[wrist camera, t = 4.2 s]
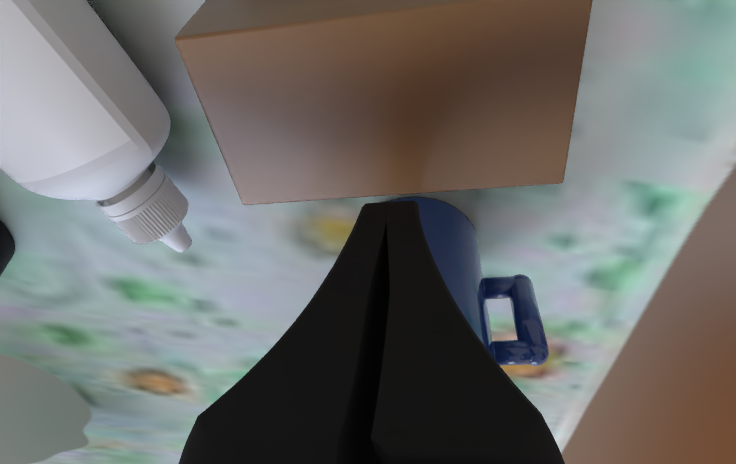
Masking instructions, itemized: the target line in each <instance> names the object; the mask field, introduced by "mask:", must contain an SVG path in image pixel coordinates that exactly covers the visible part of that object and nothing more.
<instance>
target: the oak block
mask: <svg viewBox="0 0 736 464" xmlns="http://www.w3.org/2000/svg"><path fill="white" fill-rule="evenodd" d="M591 6H592V0H206V1H205V2H204V3H203V5H202V6H201V7H200V8H199V9H198V11H197V12H196V13H195V14H194V15H193V16H192V18H191V19H190V20H189V21H188V22H187V24H186V25H185V26H184V27H183V28H182V30H181V31H180V32H179V33H178V34H177V36H176V37H175V43H176V45H177V48H178V50H179V53H180V55H181V57H182V60H183V62H184V65H185V67H186V69H187V72H188V74H189V77H190V79H191V81H192V84H193V86H194V89H195V91H196V93H197V96H198V98H199V100H200V103H201V105H202V108H203V110H204V112H205V115H206V117H207V120H208V122H209V124H210V127H211V129H212V132H213V134H214V136H215V139H216V141H217V144H218V146H219V148H220V151H221V153H222V156H223V158H224V160H225V163H226V165H227V167H228V170H229V172H230V175H231V177H232V179H233V182H234V184H235V187H236V189H237V191H238V194H239V196H240V199H241V201H242V203H243V204H244V205H252V204H267V203H281V202H296V201H311V200H325V199H340V198H354V197H369V196H384V195H398V194H413V193H427V192H442V191H457V190H471V189H486V188H500V187H515V186H530V185H544V184H559V183H562V182H563V180H564V174H565V168H566V162H567V156H568V149H569V143H570V137H571V131H572V125H573V118H574V112H575V106H576V100H577V93H578V87H579V81H580V75H581V68H582V62H583V56H584V50H585V44H586V37H587V31H588V25H589V19H590V12H591Z"/></svg>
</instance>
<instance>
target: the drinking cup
mask: <svg viewBox="0 0 736 464" xmlns="http://www.w3.org/2000/svg"><path fill="white" fill-rule="evenodd" d="M14 250H15V246H14V241H13V239H12V236H11V235H10V233H9V231H8V230H7V229H6V227H5V226H4V225H3V224H2V223H1V222H0V275H1V274H2V272H3V271H4V269H5V268H6V266H7V264H8V263H9V261H10V260H11V258H12V256H13V254H14Z"/></svg>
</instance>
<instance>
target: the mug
mask: <svg viewBox="0 0 736 464" xmlns="http://www.w3.org/2000/svg"><path fill="white" fill-rule="evenodd" d="M413 200H414V201H415V202H416V203H418V206H419V216H420V221H421V225H422V229H423V232H424V235H425V238H426V241H427V244H428V246H429V249H430V251H431V254H432V256H433V258H434V261H435V263H436V265H437V268H438V270H439V272H440V274H441V276H442V278H443V280H444V282H445V284H446V286H447V288H448V290H449V291H450V293H451V295H452V297H453V299H454V300H455V302H456V304H457V305H458V307H459V309H460V310H461V312H462V314H463V315H464V317H465V318H466V320H467V321H468V323H469V324H470V326H471V328H472V329H473V331H474V332H475V334H476V335H477V336H478V338H479V339H480V340H481V342H482V343H483V344H484V346H485V347H486V348H487V350H488V351H489V353H490V354H491V355H492V357H493V358H494V359H495V361H496V362H497V363H498V365H499V366H501V365H533V366H539V365H542V364H543V363H545V362H546V360H547V359H548V356H549V349H548V345H547V341H546V337H545V333H544V329H543V325H542V321H541V317H540V313H539V309H538V305H537V301H536V297H535V292H534V288H533V284H532V282H531V280H530V279H529V278H528V277H527V276H525V275H521V274H519V275H515V276H507V277H490V278H483V275H482V268H481V262H480V255H479V249H478V242H477V236H476V232H475V229H474V227H473V225H472V223H471V222H470V221H469V219H468V218H467V217H466V216H465V215H464V214H463V213H462V212H461V211H459V210H458V209H457V208H455V207H453V206H451V205H449V204H447V203H444V202H442V201H438V200H435V199H430V198H421V197H408V198H400V199H396V200H392V201H389V202H398V201H413ZM501 298H510V303H511V308H512V313H513V318H514V323H515V328H516V333H517V339H518V340H505V341H493V340H492V334H491V327H490V321H489V314H488V308H487V301H486V299H501Z"/></svg>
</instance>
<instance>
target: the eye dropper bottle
mask: <svg viewBox="0 0 736 464" xmlns="http://www.w3.org/2000/svg"><path fill="white" fill-rule="evenodd" d="M170 125H171V121H170V116H169V113H168V111H167V109H166V108H165V106H164V104H163V103H162V101H161V100H160V98H159V97H158V96H157V94H156V93H155V92H154V90H153V89H152V87H151V86H150V85H149V83H148V82H147V80H146V79H145V78H144V76H143V75H142V74H141V72H140V71H139V70H138V68H137V67H136V66H135V64H134V63H133V62H132V60H131V59H130V58H129V56H128V55H127V54H126V52H125V51H124V50H123V48H122V47H121V46H120V44H119V43H118V42H117V40H116V39H115V38H114V36H113V35H112V34H111V32H110V31H109V30H108V28H107V27H106V26H105V25H104V23H103V22H102V21H101V19H100V18H99V17H98V15H97V14H96V13H95V11H94V10H93V9H92V7H91V6H90V5H89V3H88V2H87V1H86V0H0V169H2V170H3V171H4V172H5V173H6V174H7V175H9V176H10V177H11V178H12V179H13V180H14V181H16V182H17V183H18V184H20V185H21V186H23V187H24V188H25V189H27V190H29V191H31V192H34V193H37V194H39V195H43V196H47V197H52V198H58V199H68V200H96V201H95V204H96V206H97V207H98V208H100V209H101V210H102V211H103V212H104V213H105V214H106V215H107V216H108V217H109V218H110V219H111V220H112V221H113V222H114V223H115V224H116V225H117V226H118V227H119V228H120V229H121V230H122V231H123V232H124V233H125V234H126V235H127V236H128V237H129V238H130V239H131V240H132V241H133V242H135V243H137V244H148V243H152V242H154V241H157V240H160V241H162V242H164V243H165V244H167V245H168V246H170V247H171V248H172V249H174V250H175V251H177V252H183V251H185V250H187V249H188V248H189V247H190V246H191V244H192V240H191V238H190V236H189V234H188V233H187V231H186V229H185V227H184V226H183V224H182V220H183V219H184V217H185V215H186V213H187V211H188V206H189V203H188V200H187V199H186V198H185V196H184V195H183V194H182V193H181V192H180V191H179V189H178V188H177V187H176V186H175V185H174V183H173V182H172V181H171V180H170V179H169V178H168V176H167V175H166V174H165V173H164V172H163V171H162V169H161V168H160V167H159V166H158V165H157V163H156V162H155V161H153V160H154V159H155V158H156V156H157V155H158V154H159V152H160V151H161V149H162V148H163V146H164V144H165V142H166V140H167V138H168V136H169V132H170Z"/></svg>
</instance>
